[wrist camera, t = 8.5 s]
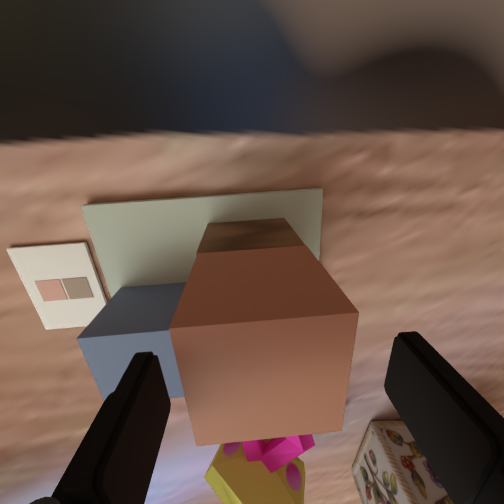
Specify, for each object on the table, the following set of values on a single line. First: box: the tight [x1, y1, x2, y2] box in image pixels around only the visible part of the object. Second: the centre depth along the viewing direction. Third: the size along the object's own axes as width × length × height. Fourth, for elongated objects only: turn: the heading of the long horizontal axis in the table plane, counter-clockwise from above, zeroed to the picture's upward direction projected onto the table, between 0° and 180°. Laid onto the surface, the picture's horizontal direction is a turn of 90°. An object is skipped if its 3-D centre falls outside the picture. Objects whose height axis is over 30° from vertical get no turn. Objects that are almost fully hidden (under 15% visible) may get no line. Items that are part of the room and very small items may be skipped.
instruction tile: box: [6, 242, 108, 330], centre depth 20 cm, size 6×8×1 cm
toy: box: [204, 434, 315, 504], centre depth 26 cm, size 10×18×10 cm, turn 165°
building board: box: [81, 188, 323, 298], centre depth 21 cm, size 18×14×1 cm
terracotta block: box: [169, 245, 359, 446], centre depth 11 cm, size 6×6×6 cm
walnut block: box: [196, 218, 305, 256], centre depth 17 cm, size 6×6×6 cm
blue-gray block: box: [77, 282, 186, 401], centre depth 18 cm, size 6×6×6 cm
